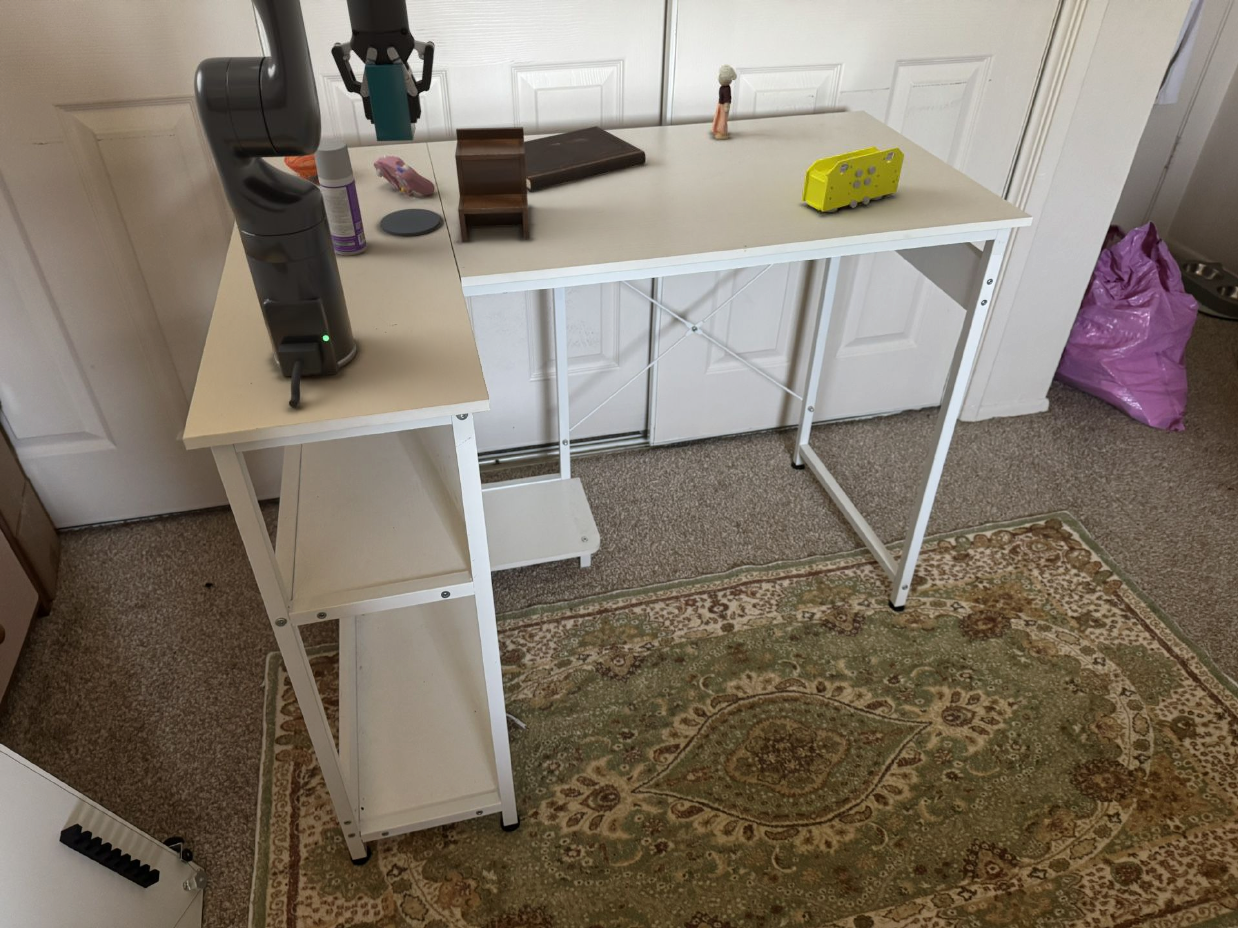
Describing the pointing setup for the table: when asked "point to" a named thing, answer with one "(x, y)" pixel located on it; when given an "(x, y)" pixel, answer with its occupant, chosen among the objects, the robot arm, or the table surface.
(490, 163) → the shelf
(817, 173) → the yellow toy chassis
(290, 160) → the pot
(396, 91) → the holder
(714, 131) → the grandmother figurine
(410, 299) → the table surface
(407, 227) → the coaster
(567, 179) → the hardcover book
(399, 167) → the video game controller
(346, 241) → the container
